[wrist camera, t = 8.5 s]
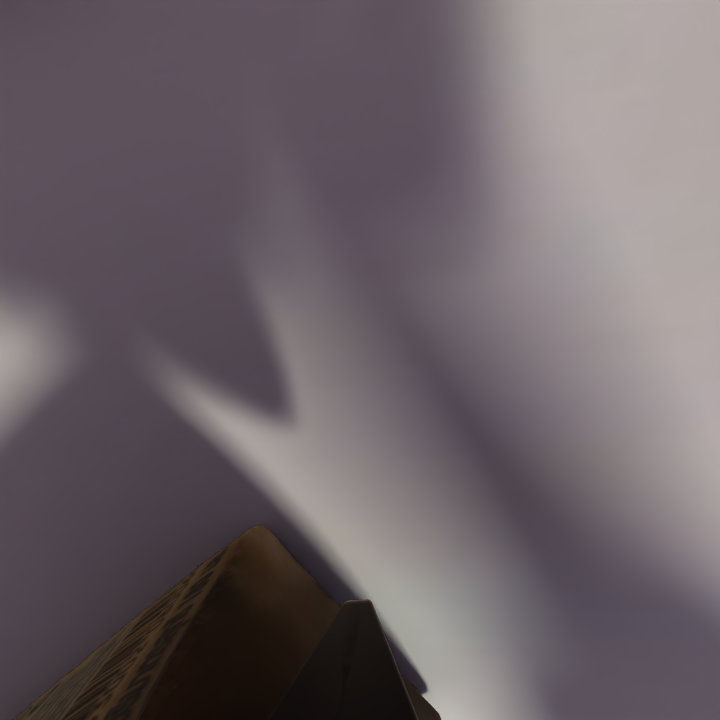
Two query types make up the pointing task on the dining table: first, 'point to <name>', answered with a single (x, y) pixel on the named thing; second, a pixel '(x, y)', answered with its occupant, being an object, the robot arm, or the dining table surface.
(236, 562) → the beverage carton
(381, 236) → the dining table surface
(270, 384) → the dining table surface
